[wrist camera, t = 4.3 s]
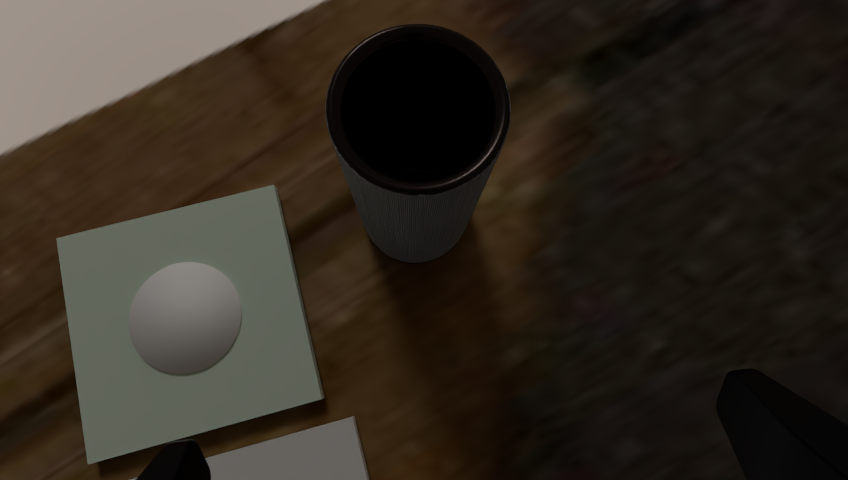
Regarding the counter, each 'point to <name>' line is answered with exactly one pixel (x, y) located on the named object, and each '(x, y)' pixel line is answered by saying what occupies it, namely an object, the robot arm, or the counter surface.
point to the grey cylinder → (417, 134)
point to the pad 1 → (185, 323)
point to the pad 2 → (297, 456)
